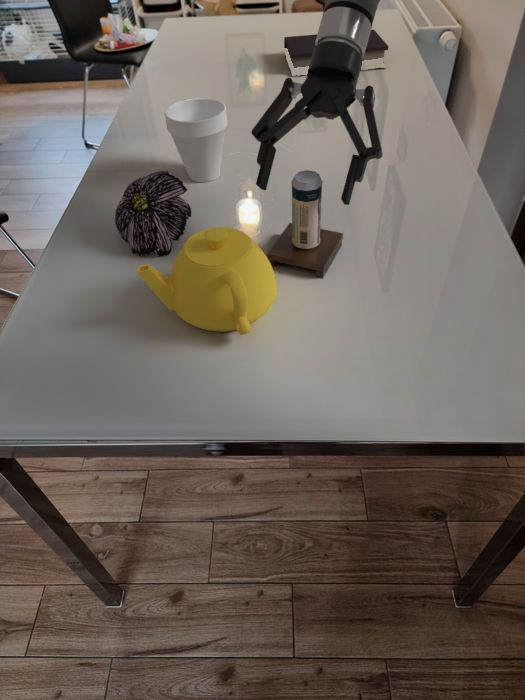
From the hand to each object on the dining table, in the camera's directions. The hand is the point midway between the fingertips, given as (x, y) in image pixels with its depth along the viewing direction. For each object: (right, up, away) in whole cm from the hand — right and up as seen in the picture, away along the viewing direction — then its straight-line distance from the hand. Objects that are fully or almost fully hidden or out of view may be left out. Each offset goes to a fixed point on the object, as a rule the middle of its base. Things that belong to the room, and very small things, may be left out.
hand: (301, 194), depth 75 cm
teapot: (-13, -17, +2) cm, 22 cm away
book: (+16, +65, +79) cm, 104 cm away
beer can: (+1, -6, +9) cm, 11 cm away
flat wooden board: (+2, -7, +11) cm, 13 cm away
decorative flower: (-26, -3, +17) cm, 31 cm away
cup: (-19, +14, +33) cm, 40 cm away
